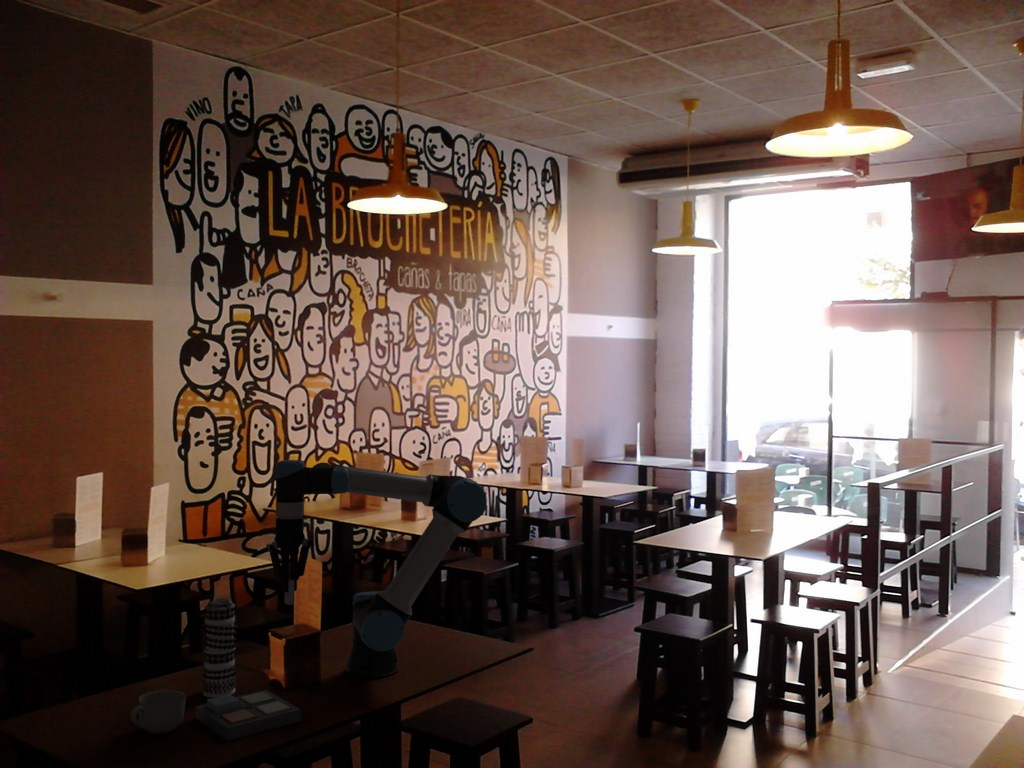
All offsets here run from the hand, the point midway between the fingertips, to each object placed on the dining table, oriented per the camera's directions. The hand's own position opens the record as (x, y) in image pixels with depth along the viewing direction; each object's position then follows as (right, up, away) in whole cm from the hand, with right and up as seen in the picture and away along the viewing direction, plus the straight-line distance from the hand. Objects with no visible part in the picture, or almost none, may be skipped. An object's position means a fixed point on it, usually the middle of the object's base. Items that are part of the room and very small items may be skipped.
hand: (289, 603), depth 241 cm
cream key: (+1, -24, -21) cm, 31 cm away
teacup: (-25, -24, -28) cm, 45 cm away
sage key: (-5, -24, -14) cm, 28 cm away
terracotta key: (-6, -24, -26) cm, 36 cm away
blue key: (-12, -22, -20) cm, 32 cm away
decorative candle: (-19, -25, 0) cm, 31 cm away
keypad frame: (-5, -24, -20) cm, 32 cm away
